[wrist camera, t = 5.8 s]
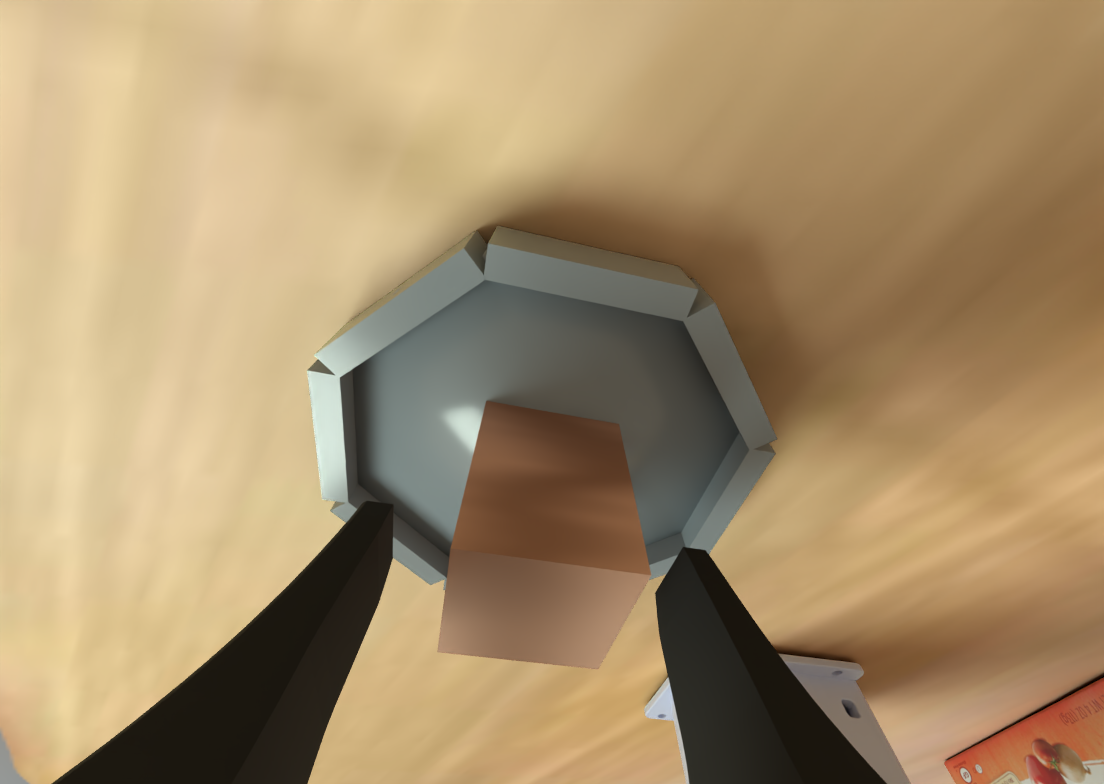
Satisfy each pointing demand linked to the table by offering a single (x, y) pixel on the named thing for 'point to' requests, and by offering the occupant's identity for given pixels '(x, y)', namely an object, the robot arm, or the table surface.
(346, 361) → the dish
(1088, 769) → the cracker box
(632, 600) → the block
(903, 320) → the table surface
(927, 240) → the table surface
